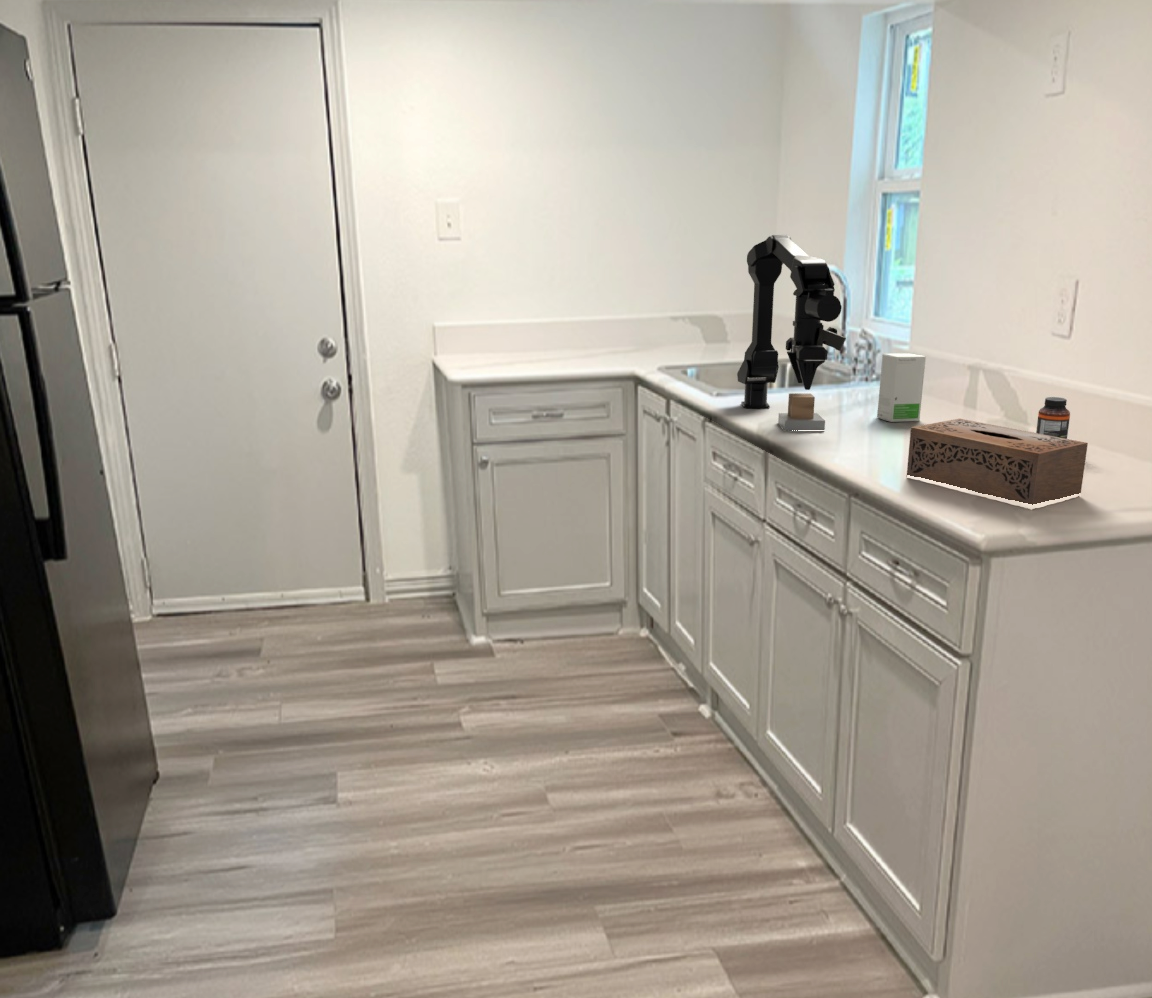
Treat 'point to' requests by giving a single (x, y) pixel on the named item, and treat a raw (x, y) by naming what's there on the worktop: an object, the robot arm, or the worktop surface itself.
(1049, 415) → the supplement bottle
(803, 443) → the worktop surface
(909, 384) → the skincare box
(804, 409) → the walnut cube
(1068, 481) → the tissue box cover
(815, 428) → the base
